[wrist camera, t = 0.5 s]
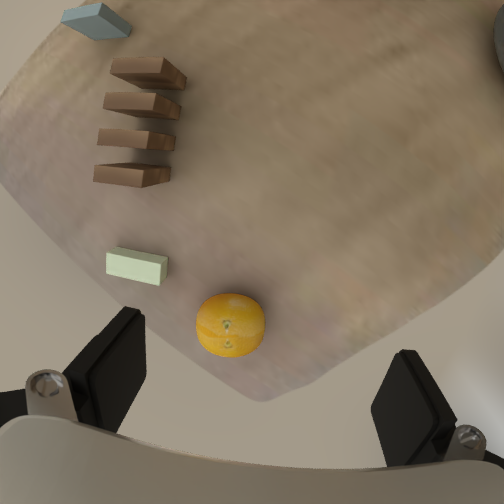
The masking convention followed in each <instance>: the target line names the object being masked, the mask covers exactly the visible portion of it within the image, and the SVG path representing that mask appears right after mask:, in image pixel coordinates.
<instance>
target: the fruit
mask: <svg viewBox="0 0 504 504" xmlns="http://www.w3.org/2000/svg"><path fill="white" fill-rule="evenodd" d="M196 330H197V335H198V339H199V341H200V342H201V344H202V345H203V346H204V347H205V348H206V349H207V350H208V351H209V352H211V353H213V354H215V355H219V356H223V357H240V356H244V355H247V354H249V353H251V352H253V351H254V350H255V349H256V348H257V347H258V346H259V345H260V343H261V342H262V339H263V336H264V331H265V316H264V313H263V310H262V308H261V307H260V305H259V304H258V303H257V302H256V301H254V300H253V299H251V298H249V297H247V296H244V295H240V294H234V293H224V294H218V295H215V296H213V297H211V298H209V299H208V300H206V301H205V302H204V303H203V304H202V305H201V307H200V309H199V311H198V314H197V319H196Z"/></svg>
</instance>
